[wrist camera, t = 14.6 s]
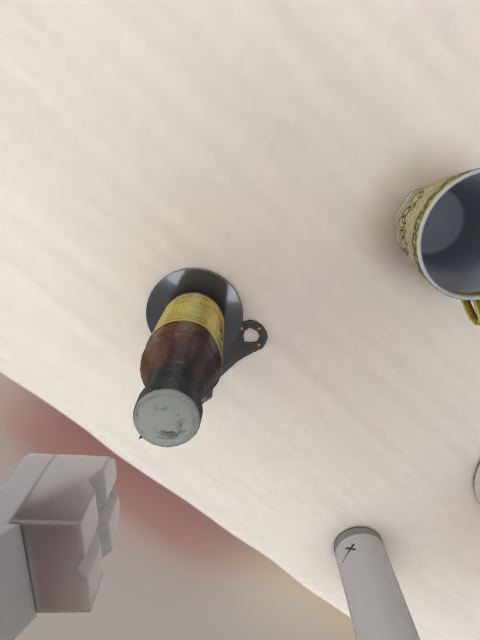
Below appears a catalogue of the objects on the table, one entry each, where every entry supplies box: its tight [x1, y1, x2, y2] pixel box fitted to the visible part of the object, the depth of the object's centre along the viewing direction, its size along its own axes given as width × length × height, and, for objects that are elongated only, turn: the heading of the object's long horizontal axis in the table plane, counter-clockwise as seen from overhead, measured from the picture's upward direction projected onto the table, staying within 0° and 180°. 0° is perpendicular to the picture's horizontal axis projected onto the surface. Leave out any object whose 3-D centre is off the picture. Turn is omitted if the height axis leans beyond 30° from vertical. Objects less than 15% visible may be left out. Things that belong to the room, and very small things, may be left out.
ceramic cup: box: [394, 168, 480, 325], centre depth 36 cm, size 13×10×10 cm
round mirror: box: [146, 268, 243, 352], centre depth 44 cm, size 10×10×1 cm
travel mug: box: [334, 527, 420, 640], centre depth 45 cm, size 6×7×20 cm
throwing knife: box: [139, 320, 268, 439], centre depth 47 cm, size 4×20×1 cm, turn 135°
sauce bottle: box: [133, 292, 224, 447], centre depth 34 cm, size 7×6×20 cm
